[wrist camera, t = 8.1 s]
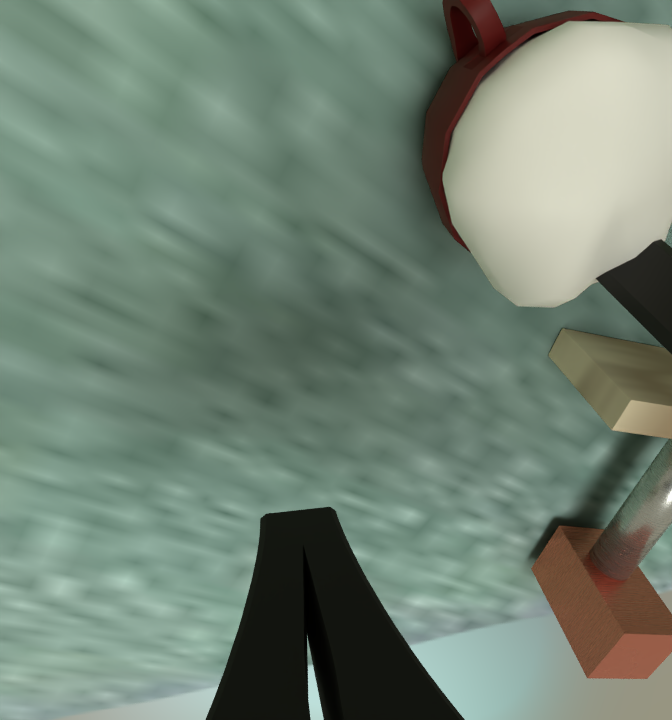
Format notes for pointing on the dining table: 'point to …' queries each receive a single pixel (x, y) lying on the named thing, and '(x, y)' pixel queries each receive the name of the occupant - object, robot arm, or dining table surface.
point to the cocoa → (558, 156)
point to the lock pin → (613, 582)
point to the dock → (619, 380)
